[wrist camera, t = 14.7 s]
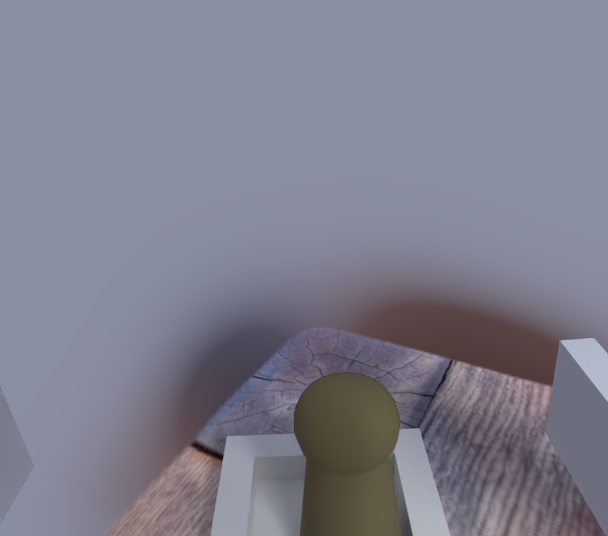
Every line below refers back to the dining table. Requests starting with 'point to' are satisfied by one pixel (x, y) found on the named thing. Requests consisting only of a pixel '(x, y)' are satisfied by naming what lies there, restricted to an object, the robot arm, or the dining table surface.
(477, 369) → the dining table surface
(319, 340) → the dining table surface
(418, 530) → the well block
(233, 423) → the dining table surface
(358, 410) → the olive pawn
